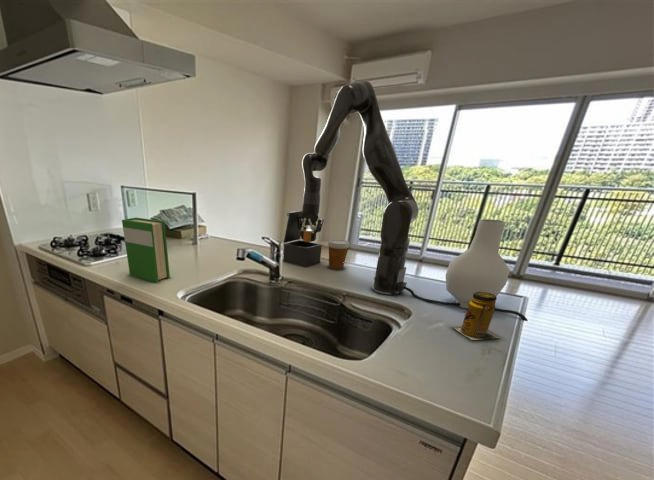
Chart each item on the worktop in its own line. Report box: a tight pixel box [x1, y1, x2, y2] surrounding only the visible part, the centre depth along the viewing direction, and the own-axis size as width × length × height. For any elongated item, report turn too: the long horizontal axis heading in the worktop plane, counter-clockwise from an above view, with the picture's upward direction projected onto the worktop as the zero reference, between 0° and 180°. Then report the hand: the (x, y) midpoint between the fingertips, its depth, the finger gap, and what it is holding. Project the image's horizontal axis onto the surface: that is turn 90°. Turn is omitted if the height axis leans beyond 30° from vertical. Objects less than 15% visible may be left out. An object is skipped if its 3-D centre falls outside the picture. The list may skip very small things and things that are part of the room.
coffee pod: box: [302, 228, 313, 243], centre depth 158 cm, size 5×5×5 cm
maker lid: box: [283, 210, 303, 243], centre depth 163 cm, size 14×12×5 cm
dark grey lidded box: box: [282, 239, 323, 268], centre depth 163 cm, size 14×12×9 cm
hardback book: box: [121, 217, 171, 284], centre depth 143 cm, size 18×7×24 cm, turn 53°
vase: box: [445, 218, 511, 309], centre depth 109 cm, size 17×16×28 cm
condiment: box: [453, 292, 501, 341], centre depth 94 cm, size 7×8×12 cm
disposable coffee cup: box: [327, 239, 351, 270], centre depth 153 cm, size 10×10×12 cm
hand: (308, 240), depth 158 cm, fingers closed on coffee pod, 5 cm apart
